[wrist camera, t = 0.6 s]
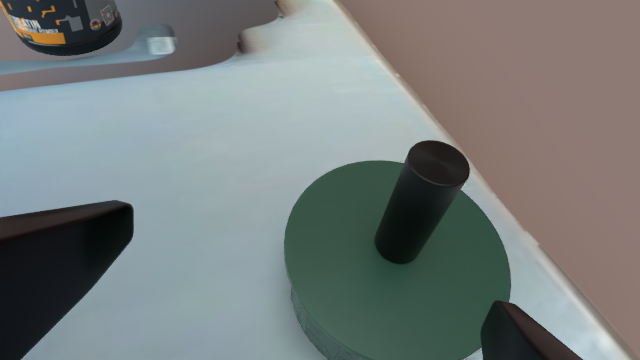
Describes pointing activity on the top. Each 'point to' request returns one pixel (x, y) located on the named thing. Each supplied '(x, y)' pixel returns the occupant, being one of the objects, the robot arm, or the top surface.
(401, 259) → the lid
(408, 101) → the top surface
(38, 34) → the supplement container
